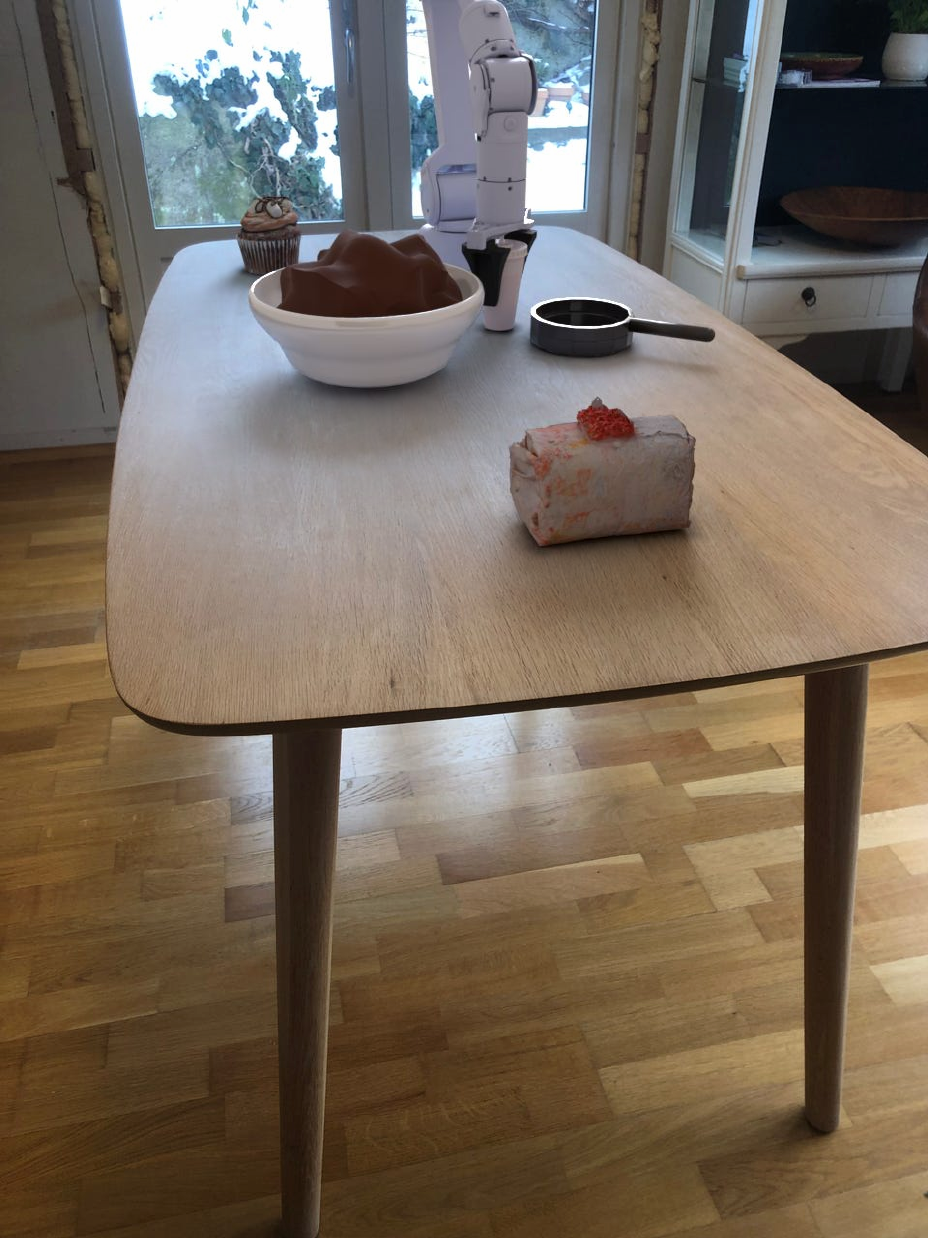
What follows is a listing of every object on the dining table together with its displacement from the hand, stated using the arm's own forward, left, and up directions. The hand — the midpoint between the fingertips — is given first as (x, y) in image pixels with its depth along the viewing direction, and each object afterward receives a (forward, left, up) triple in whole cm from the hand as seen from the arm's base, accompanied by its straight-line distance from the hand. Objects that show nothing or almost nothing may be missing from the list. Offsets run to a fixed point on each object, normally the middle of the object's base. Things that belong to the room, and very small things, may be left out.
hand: (498, 298), depth 117 cm
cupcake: (-43, +13, -4) cm, 44 cm away
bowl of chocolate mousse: (-7, -20, -4) cm, 22 cm away
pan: (+11, 0, -4) cm, 12 cm away
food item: (+27, -43, -4) cm, 52 cm away
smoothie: (0, 0, -4) cm, 4 cm away
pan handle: (+22, 0, -2) cm, 22 cm away
